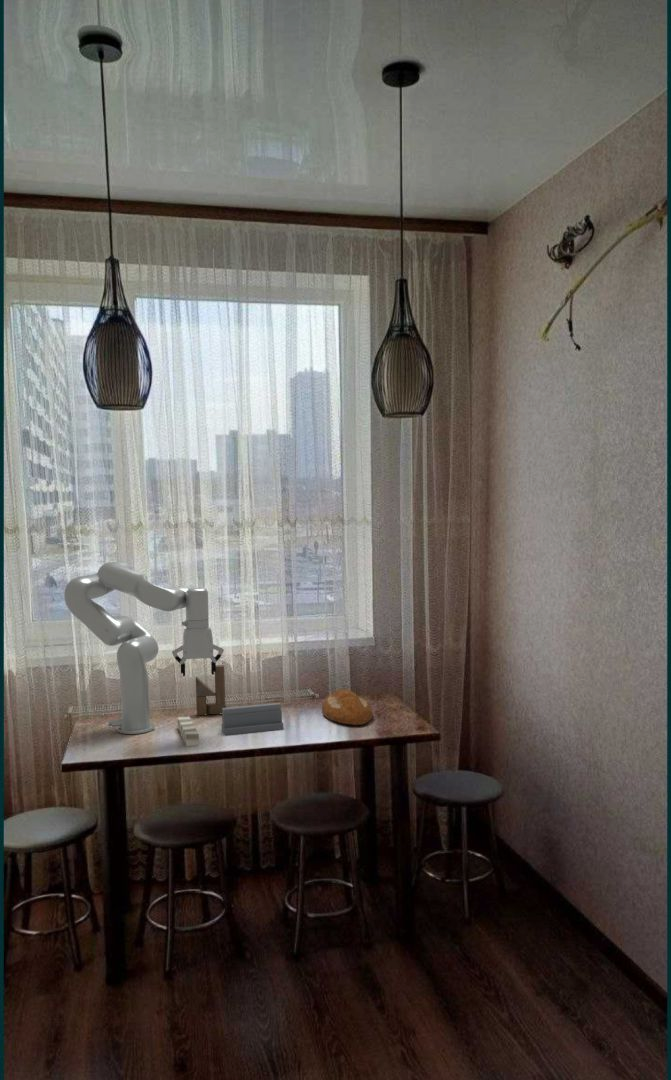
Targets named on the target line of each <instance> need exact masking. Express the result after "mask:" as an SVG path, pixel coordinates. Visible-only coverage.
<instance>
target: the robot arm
mask: <svg viewBox="0 0 671 1080" xmlns="http://www.w3.org/2000/svg"><path fill="white" fill-rule="evenodd" d="M113 591H119V592H121V593H124V594H127V595H130V596H133V597H134V598H136V599H137V600H138V601H139V602H141V603H143V604H145V605H146V606H149V607H152V608H153V609H157V610H160V611H162V612H174V611H177V610H180V609H185V618H186V619H185V620H183V621H181V626H182V627H183V626H184V627H185V628H184V629H183V634H182V635H183V636H182V645H181V646H179V647H177V648H175V649H174V650H172V651H171V653H172V654H171V655H173V657H174V659H175V661H177V662H178V663H179V664H180V674H182V677H185V676H186V663H185V662H186V661H187V660H197V659H199V660H201V659H210V660H211V662H210V663H211V664H210V667H211V668H210V669H211V676H212V675H214V676H215V672H216V665H217V662H218V660H220V659H221V657H222V656H223V653H224V648H222V647H220V646H218V645H217V644H214V640H213V632H212V631H213V630H212V628H211V627H210V626H209V623H210V622H209V591H208V589H207V588H204V587H187V586H186V587H185V586H176V587H175V586H174V587H170V588H165V587H162V586H159V585H156V584H154V583H153V582H149V580H148V575H146V573H144V572H140V571H138V570H135V569H133V567H132V566H131V565H130V564H129V563H128V562H125V560H124V561H123V560H116V561H108V562H106V563H104V564H102V565H101V566H100V567H99V568H98V570H97V572H95V573H94V574H90V575H89V574H87V575H82V576H77V577H75V578H73V579H70V580H69V581H68V583H66V586H65V588H64V596H63V597H64V601H65V604H66V605H65V606H66V607H67V608H68V611H70V613H72V615H74V617H75V618H77V619H78V620H79V621H80V622H81V623H82V624H84V626H86V628H87V629H89V631H90V632H92V633H93V634H94V635H95V636H96V637H97V638H98V639H99V640H100V641H101V642H102V643H103V644H104V645H106V646H108V647H109V646H110V647H111V646H112V647H114V646H118V645H120V646H119V647H118V649H117V652H116V662H117V665H118V671H119V672H118V673H119V681H120V702H121V703H120V704H121V716H120V718H117V719H109V720H108V721H107V723H108V727H113V728H114V727H117V733H119V732H120V733H119V734H122V735H137V734H138V735H139V734H144V733H149V732H151V731H154V730H155V728H156V725H155V724H154V723H153V722H151V716H150V715H151V714H150V713H151V712H150V711H151V710H150V685H149V684H150V683H149V674H148V671H147V667H146V664H147V663H149V662H151V661H152V660H155V658H156V657H157V655H158V654H159V644H158V642H157V641H156V639H155V638H154V637H153V635H151V634H150V633H149V632H148V631H147V630H146V629H145V628H144V627H143V626H142V625H140V624H139V622H137V621H136V620H134V619H133V618H132V617H129V616H126V615H118V616H113V615H112V614H111V613H110V612H108V610H106V609H105V608H104V607H103V606H101V605H100V604H98V603H96V601H94V600H92V599H96V598H97V599H98V598H100V597H104V596H105V595H107V594H109V593H111V592H113ZM214 650H216V651H218V653H217V654H216V656H214ZM181 651H182V657H180V656H179V655H178V653H180V652H181Z"/></svg>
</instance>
